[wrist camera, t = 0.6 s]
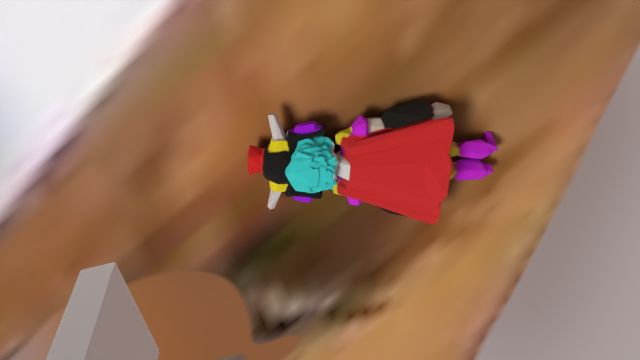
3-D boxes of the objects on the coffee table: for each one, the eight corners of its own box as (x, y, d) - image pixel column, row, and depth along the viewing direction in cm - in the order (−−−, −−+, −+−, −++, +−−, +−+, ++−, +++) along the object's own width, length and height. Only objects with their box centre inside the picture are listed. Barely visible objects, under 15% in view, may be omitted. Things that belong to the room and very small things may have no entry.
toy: (499, 93, 36) (247, 89, 35) (525, 120, 33) (246, 117, 31) (477, 202, 40) (248, 203, 38) (498, 236, 37) (247, 238, 35)
